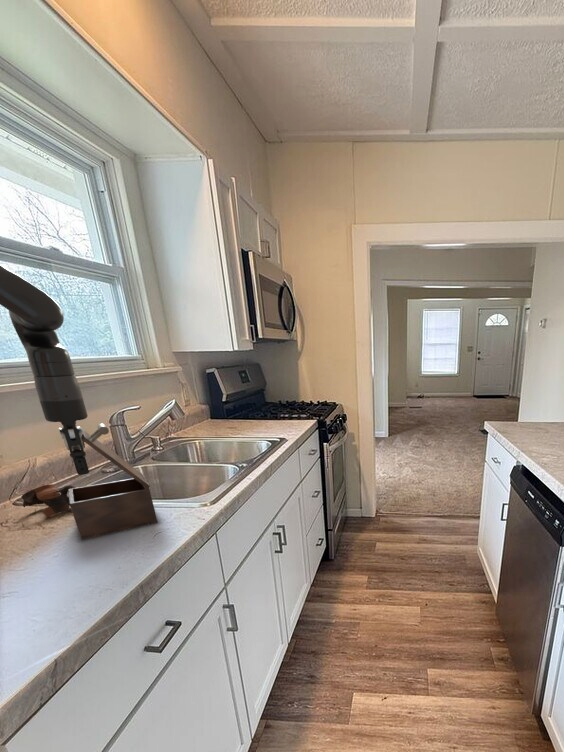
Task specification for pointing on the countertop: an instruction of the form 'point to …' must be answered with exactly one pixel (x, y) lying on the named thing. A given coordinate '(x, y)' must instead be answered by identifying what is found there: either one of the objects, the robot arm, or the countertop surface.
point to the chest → (111, 507)
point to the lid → (111, 453)
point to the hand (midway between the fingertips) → (82, 469)
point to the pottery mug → (48, 498)
